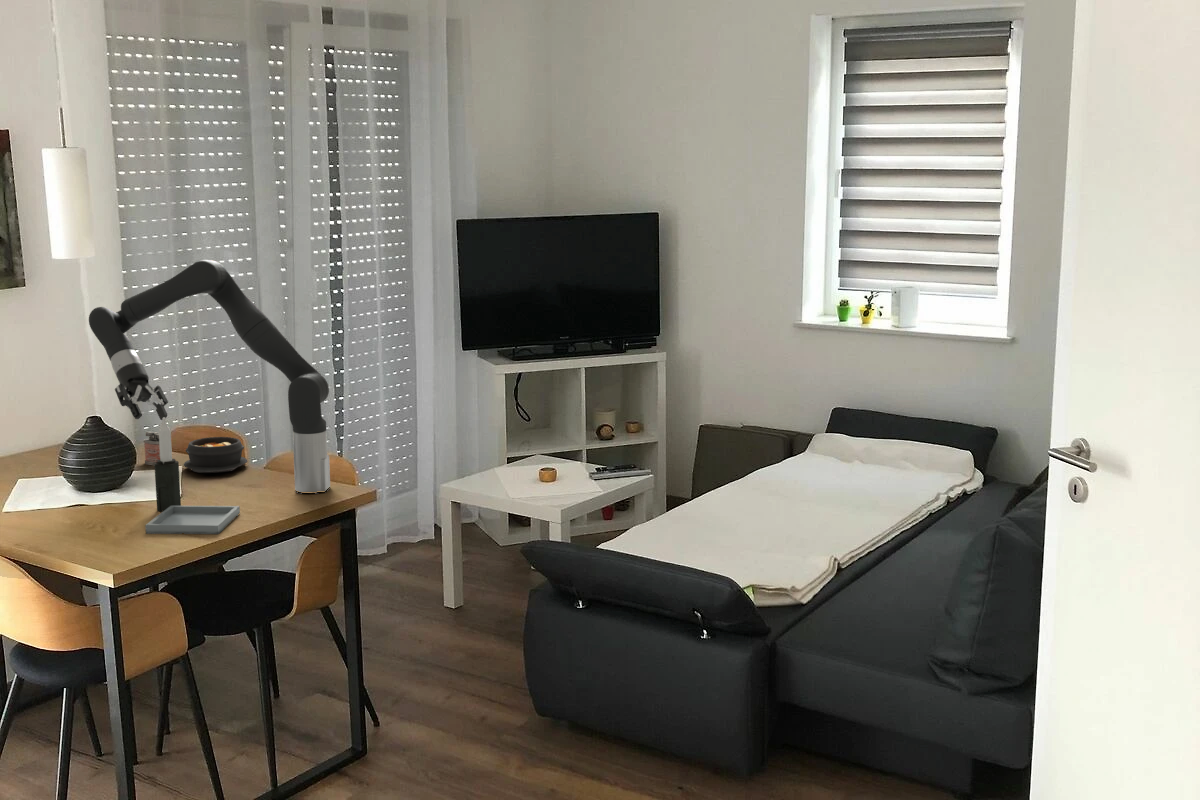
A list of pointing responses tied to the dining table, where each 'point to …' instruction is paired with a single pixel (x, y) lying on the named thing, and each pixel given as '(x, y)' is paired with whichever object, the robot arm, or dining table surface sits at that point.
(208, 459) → the casserole
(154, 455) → the lighter
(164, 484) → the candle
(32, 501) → the dining table surface
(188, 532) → the tray
